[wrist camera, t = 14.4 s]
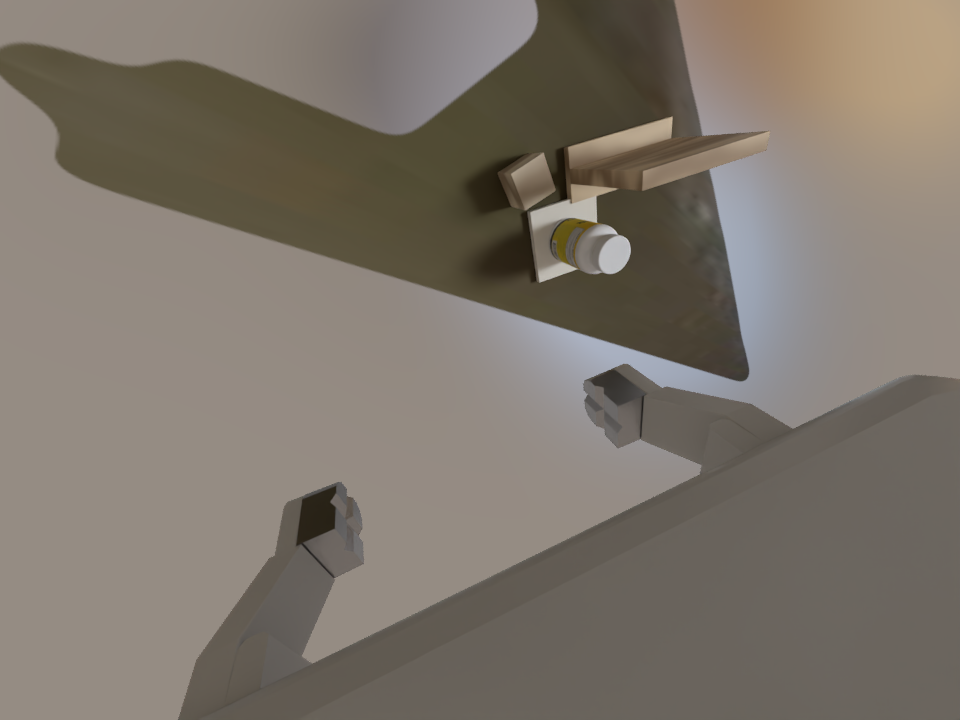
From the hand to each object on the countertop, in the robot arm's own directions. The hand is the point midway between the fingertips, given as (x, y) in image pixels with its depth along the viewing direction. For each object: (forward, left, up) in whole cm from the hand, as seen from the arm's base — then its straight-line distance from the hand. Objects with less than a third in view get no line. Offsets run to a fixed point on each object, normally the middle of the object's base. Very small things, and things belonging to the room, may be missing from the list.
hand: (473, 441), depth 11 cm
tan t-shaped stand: (-1, +30, -33) cm, 45 cm away
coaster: (+6, +22, -33) cm, 40 cm away
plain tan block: (-2, +17, -33) cm, 37 cm away
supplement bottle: (+6, +22, -32) cm, 40 cm away
